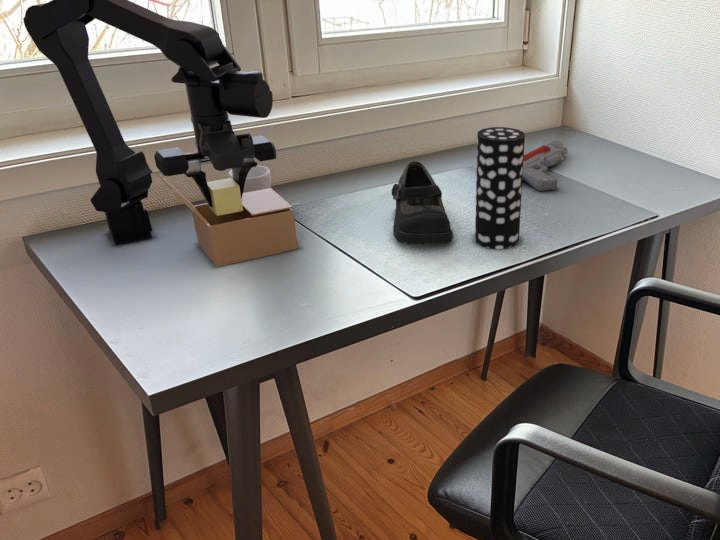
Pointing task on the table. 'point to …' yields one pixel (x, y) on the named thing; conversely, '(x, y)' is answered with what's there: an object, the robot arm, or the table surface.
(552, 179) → the toy gun
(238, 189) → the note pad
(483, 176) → the spotted tube
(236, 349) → the table surface
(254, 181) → the cup
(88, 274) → the table surface
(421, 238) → the shoe
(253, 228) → the carton
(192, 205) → the flap
